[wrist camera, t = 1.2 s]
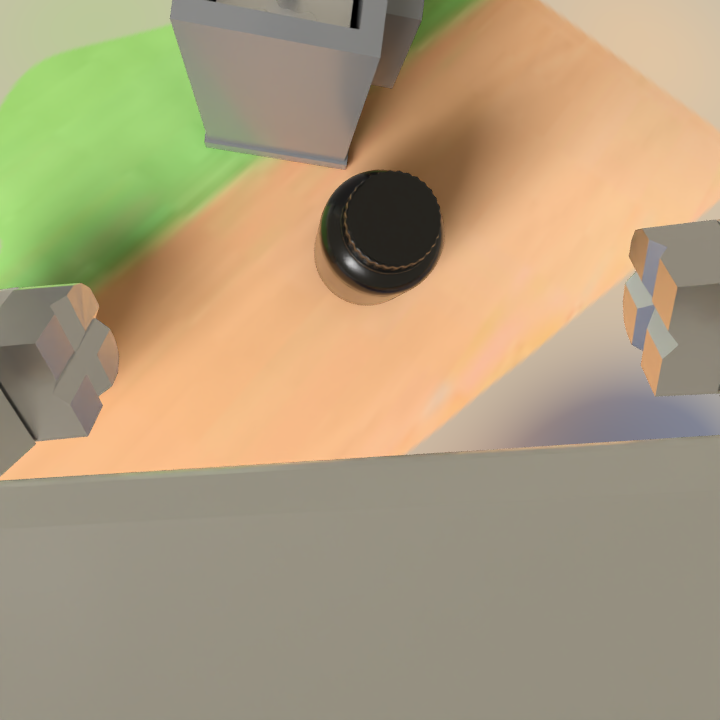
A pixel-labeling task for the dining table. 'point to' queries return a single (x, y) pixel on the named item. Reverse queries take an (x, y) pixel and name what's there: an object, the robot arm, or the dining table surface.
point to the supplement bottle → (378, 237)
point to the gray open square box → (289, 74)
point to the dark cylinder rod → (303, 9)
